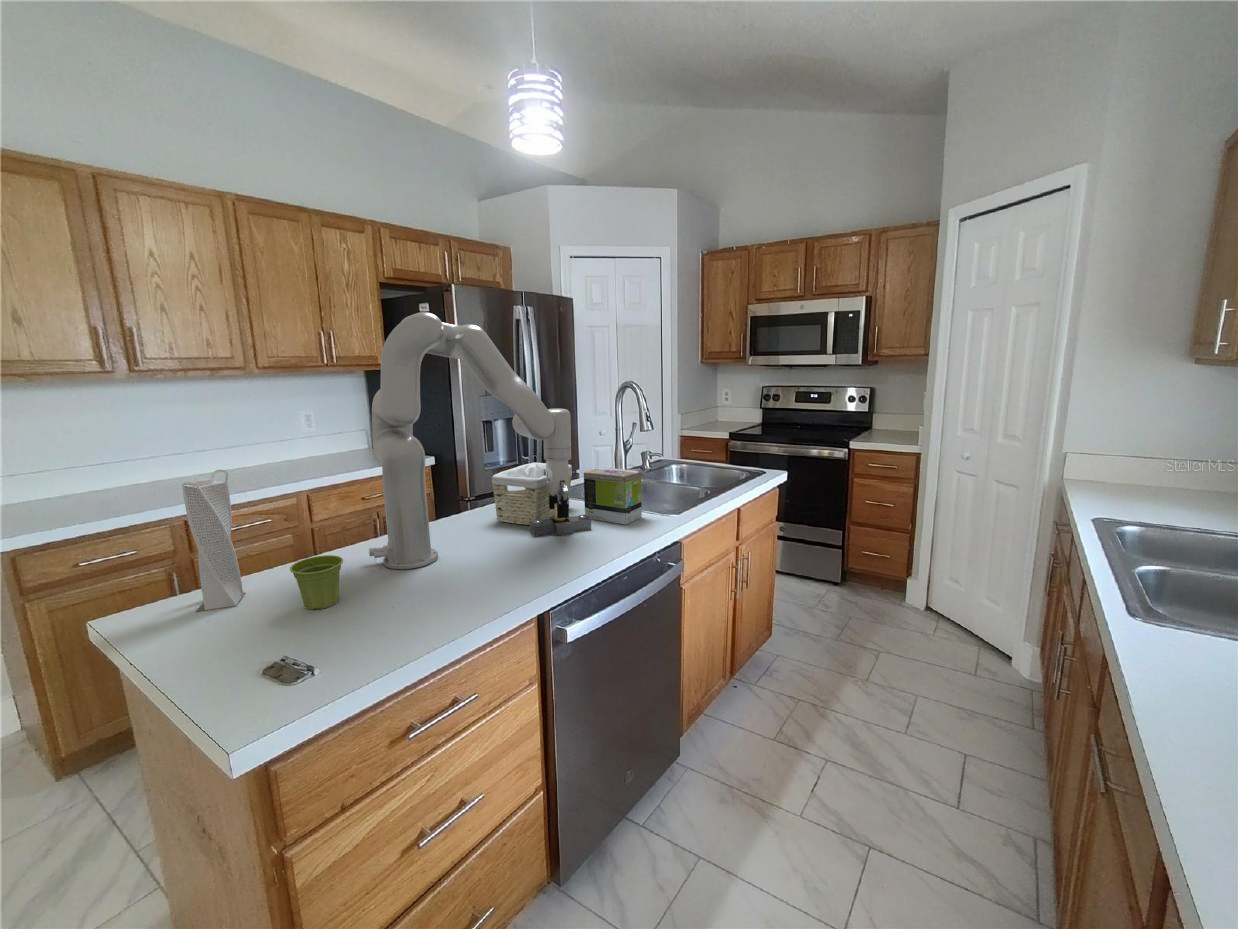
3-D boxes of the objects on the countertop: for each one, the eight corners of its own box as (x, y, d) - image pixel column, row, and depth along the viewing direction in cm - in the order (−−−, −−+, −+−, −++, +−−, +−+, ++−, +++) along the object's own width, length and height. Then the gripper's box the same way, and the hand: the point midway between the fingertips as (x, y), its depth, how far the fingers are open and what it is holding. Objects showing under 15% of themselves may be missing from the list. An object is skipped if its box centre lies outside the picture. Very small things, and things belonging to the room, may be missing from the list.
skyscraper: (253, 593, 119) (234, 465, 113) (243, 608, 111) (222, 473, 106) (207, 599, 116) (184, 469, 110) (193, 616, 108) (169, 477, 103)
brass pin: (556, 532, 155) (555, 505, 154) (553, 529, 158) (552, 502, 157) (567, 531, 156) (566, 504, 155) (564, 528, 159) (563, 501, 158)
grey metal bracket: (535, 538, 150) (534, 526, 150) (529, 529, 158) (528, 517, 158) (593, 531, 156) (592, 519, 155) (584, 522, 164) (584, 511, 163)
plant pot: (357, 599, 114) (352, 560, 112) (312, 618, 106) (307, 576, 104) (330, 590, 119) (325, 552, 117) (285, 607, 111) (280, 567, 109)
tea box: (642, 517, 169) (642, 470, 166) (625, 526, 161) (625, 476, 158) (602, 510, 177) (601, 465, 174) (583, 518, 169) (582, 471, 166)
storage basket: (532, 503, 187) (530, 460, 184) (575, 507, 181) (574, 463, 178) (491, 523, 165) (488, 475, 162) (538, 529, 159) (536, 479, 156)
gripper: (537, 449, 160) (539, 506, 163) (551, 459, 144) (552, 522, 147) (563, 448, 162) (564, 504, 165) (579, 457, 146) (580, 520, 149)
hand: (558, 513), depth 156 cm, fingers open, 9 cm apart
